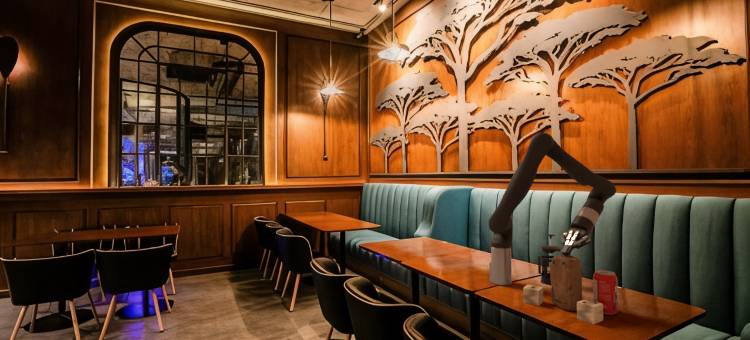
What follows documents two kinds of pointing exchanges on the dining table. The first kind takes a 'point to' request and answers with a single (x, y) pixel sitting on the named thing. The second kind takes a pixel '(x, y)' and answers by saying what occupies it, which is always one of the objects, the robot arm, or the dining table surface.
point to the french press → (546, 249)
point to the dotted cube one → (533, 295)
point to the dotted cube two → (590, 311)
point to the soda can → (606, 290)
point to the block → (566, 281)
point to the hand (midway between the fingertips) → (564, 254)
